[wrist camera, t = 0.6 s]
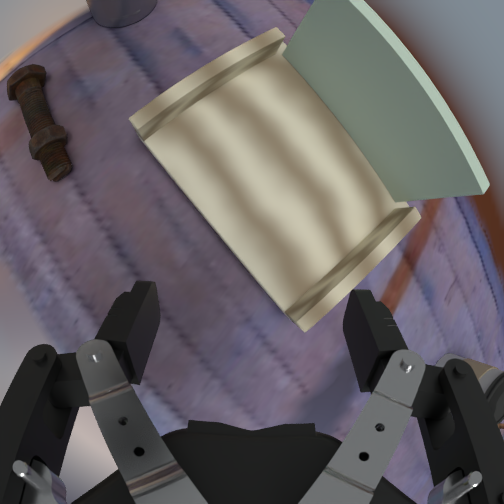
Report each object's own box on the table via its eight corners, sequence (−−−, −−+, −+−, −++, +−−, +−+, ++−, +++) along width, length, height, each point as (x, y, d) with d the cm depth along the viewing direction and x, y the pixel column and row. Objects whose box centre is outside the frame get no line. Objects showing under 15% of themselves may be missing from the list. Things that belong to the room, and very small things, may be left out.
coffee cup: (464, 341, 43) (528, 367, 29) (457, 386, 44) (514, 418, 29) (428, 355, 42) (495, 391, 27) (421, 403, 42) (479, 444, 28)
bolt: (67, 182, 33) (31, 91, 30) (91, 159, 31) (51, 65, 28) (32, 192, 27) (-2, 92, 25) (53, 166, 25) (16, 63, 23)
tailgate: (395, 202, 35) (483, 194, 21) (282, 54, 31) (327, -20, 17) (405, 192, 35) (492, 181, 21) (294, 47, 31) (343, -24, 18)
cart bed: (284, 314, 37) (305, 332, 30) (139, 138, 32) (128, 118, 25) (396, 209, 39) (430, 207, 32) (274, 50, 34) (289, 20, 27)
